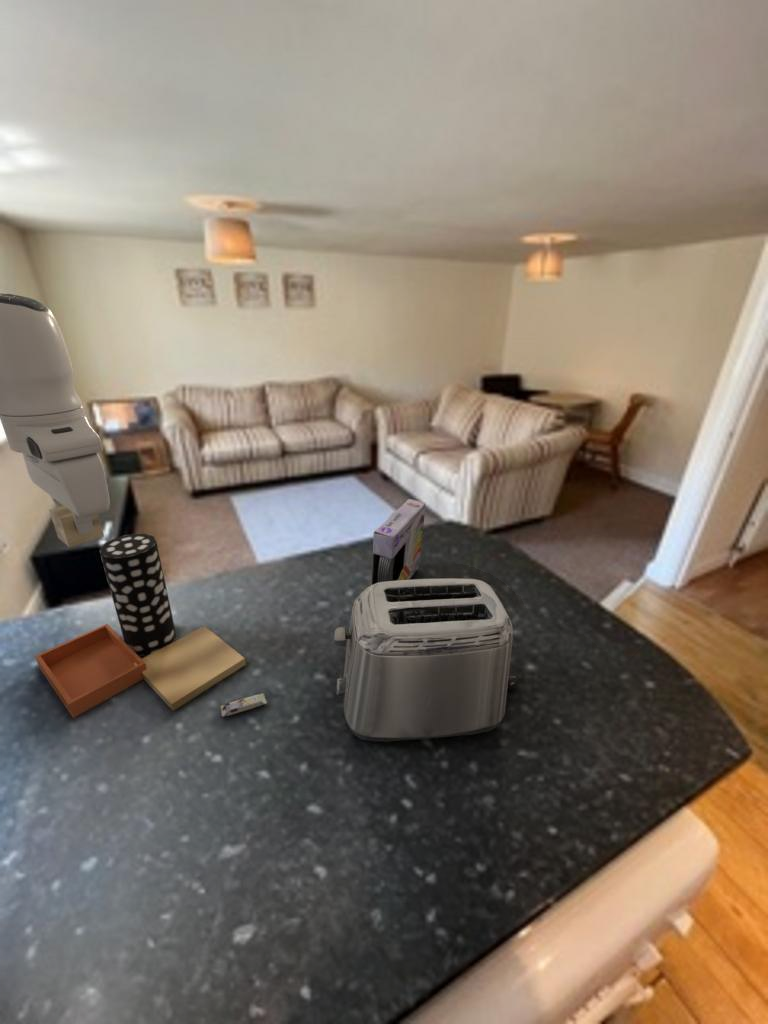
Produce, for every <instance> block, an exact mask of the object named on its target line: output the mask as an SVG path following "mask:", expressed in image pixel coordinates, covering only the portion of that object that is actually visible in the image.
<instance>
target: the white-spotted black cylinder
mask: <svg viewBox="0 0 768 1024" xmlns="http://www.w3.org/2000/svg"><path fill="white" fill-rule="evenodd" d="M158 546H159V545H158V542H157V538H156V537H155V536H153V535H152V534H148V533H130V534H124V535H121V536H118V537H114V538H112V539H110V540H108V541H106V542H104V544H103V545H101V547H100V548H99V554H100V558H101V561H102V566H103V568H104V573H105V576H106V580H107V583H108V584H107V585H108V587H109V591H110V593H111V598H112V601H113V606H114V609H115V614H116V615H117V620H118V624H119V628H120V631H121V635H122V639H123V640H124V641H125V643H126V644H127V645H128V646H129V647H130V648H131V649H132V650H133V651H134V652H135V653H136V654H137V655H138V656H139V657H140V656H141V657H143V656H144V657H146V656H148V655H150V654H152V653H154V652H156V651H157V650H159V649H161V648H163V647H165V646H167V645H169V644H171V643H173V642H175V641H176V637H177V631H176V627H175V621H174V617H173V612H172V607H171V604H170V599H169V594H168V589H167V585H166V579H165V576H164V570H163V566H162V561H161V556H160V552H159V547H158Z"/></svg>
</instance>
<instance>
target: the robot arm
mask: <svg viewBox="0 0 768 1024" xmlns="http://www.w3.org/2000/svg"><path fill="white" fill-rule="evenodd" d="M63 335H64V334H63V333H62V330H61V327H60V326H59V323H58V321H57V319H56V317H55V316H54V314H53V312H52V311H51V309H50V308H48V306H46V305H45V304H44V303H42V302H40V301H38V300H36V299H33V298H30V297H28V296H27V297H26V296H21V295H17V294H12V293H0V423H1V426H2V428H3V431H4V434H5V437H6V439H7V442H8V445H9V448H10V450H11V451H12V452H14V453H20V454H22V457H23V460H24V464H25V467H26V470H27V473H28V475H29V478H30V480H31V481H32V483H33V484H35V485H36V486H37V487H39V489H41V490H42V491H43V492H45V493H46V494H48V495H49V496H50V498H51V500H52V502H53V503H54V506H55V508H57V507H61V506H65V507H66V508H67V509H69V510H70V511H71V513H72V514H73V517H74V521H73V523H74V526H75V529H76V531H77V532H78V533H79V534H81V535H85V534H88V533H91V532H93V530H94V528H93V524H92V521H91V520H92V516H94V515H97V514H98V515H100V514H104V513H106V512H108V511H109V509H110V503H111V500H110V499H111V498H110V493H109V492H110V491H109V486H108V483H107V482H108V481H107V477H106V471H105V467H104V464H103V461H102V458H101V457H100V455H99V454H98V453H101V452H103V451H104V446H103V442H102V440H101V437H100V436H99V434H98V433H97V432H96V431H95V430H94V429H93V427H92V426H91V425H90V422H89V420H88V418H87V416H86V412H85V408H84V405H83V402H82V400H81V398H80V397H79V395H78V393H77V391H76V389H75V388H76V387H75V386H74V385H75V384H74V374H75V373H74V367H73V363H72V360H71V356H70V354H69V350H68V347H67V343H66V341H65V338H64V336H63Z"/></svg>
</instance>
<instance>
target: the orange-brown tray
mask: <svg viewBox="0 0 768 1024" xmlns="http://www.w3.org/2000/svg"><path fill="white" fill-rule="evenodd" d="M34 657H35V660H36V662H37V665H38V669H39V670H40V671H41V673H42V674H43V676H44V677H45V679H46V680H47V681H48V683H49V684H50V686H51V687H52V689H53V690H54V692H55V693H56V695H57V696H58V698H59V700H60V701H61V702H62V704H63V705H64V707H65V708H66V710H67V711H68V713H69V714H70V716H71V717H72V718H73V719H74V718H76V717H78V716H80V715H81V714H83V713H85V712H86V711H89V710H90V709H92V708H95V707H96V706H98V705H99V704H101V703H103V702H105V701H107V700H109V699H110V698H112V697H114V696H116V695H117V694H119V693H121V692H122V691H124V690H126V689H128V688H129V687H132V686H134V685H135V684H137V683H139V682H140V681H143V680H144V679H143V676H142V672H143V671H145V670H146V669H147V667H146V663H145V662H144V661H143V660H142V658H141V657H140V656H138V655H137V654H136V653H135V652H134V651H133V650H132V649H131V648H130V647H129V646H128V645H127V644H126V643H125V641H124V638H123V637H121V636H120V635H119V634H118V633H117V632H116V631H115V630H114V629H113V627H111V626H110V624H108V623H106V624H104V625H101V626H99V627H96V628H94V629H92V630H89V631H87V632H86V633H83V634H81V635H79V636H76V637H74V638H72V639H70V640H67V641H65V642H63V643H61V644H59V645H57V646H54V647H52V648H50V649H47V650H45V651H43V652H41V653H38V654H37V655H35V656H34ZM133 663H136V664H137V665H136V666H135V667H134V664H133Z"/></svg>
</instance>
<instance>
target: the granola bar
mask: <svg viewBox="0 0 768 1024" xmlns="http://www.w3.org/2000/svg"><path fill="white" fill-rule="evenodd" d="M266 704H268V701H267V699H266V696H265V693H264V692H262V693H260V694H259V693H257V694H255V695H251V696H247V697H244V698H240V699H238V700H235V701H231V702H228V703H225V704H222V705H220V706H219V707H220V711H221V717H228V716H229V717H230V716H232V715H235V714H239V713H242V712H245V711H249V710H252V709H255V708H258V707H261V706H262V705H266Z"/></svg>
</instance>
